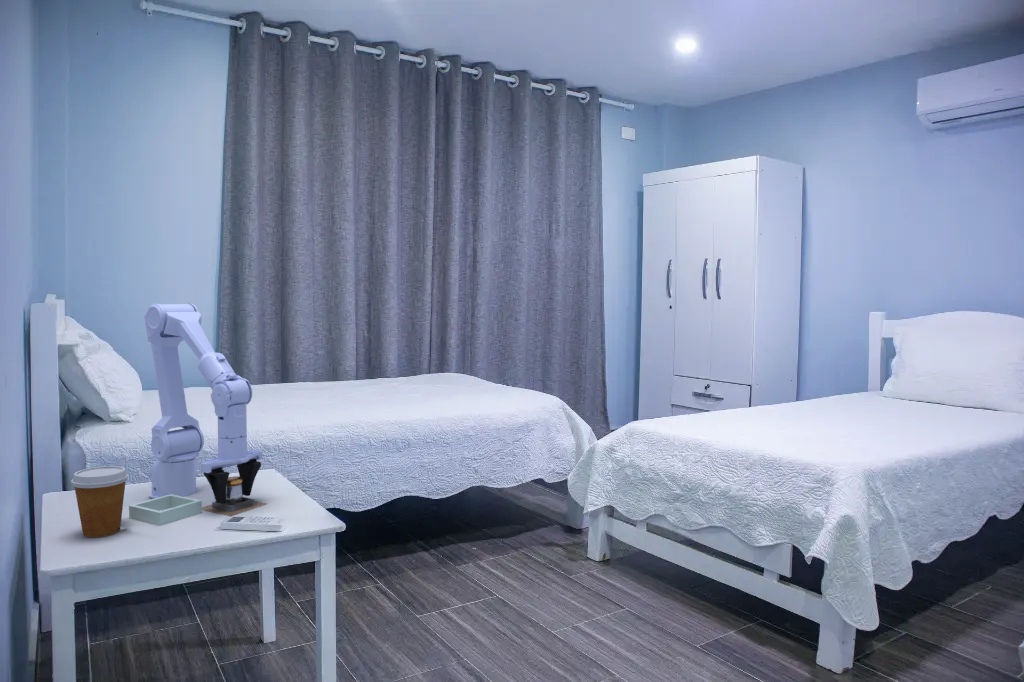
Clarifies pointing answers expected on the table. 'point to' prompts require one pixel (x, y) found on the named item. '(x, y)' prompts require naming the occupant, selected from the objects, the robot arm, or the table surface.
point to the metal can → (234, 490)
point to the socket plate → (233, 507)
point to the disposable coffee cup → (100, 499)
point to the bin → (178, 510)
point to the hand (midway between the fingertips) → (233, 498)
